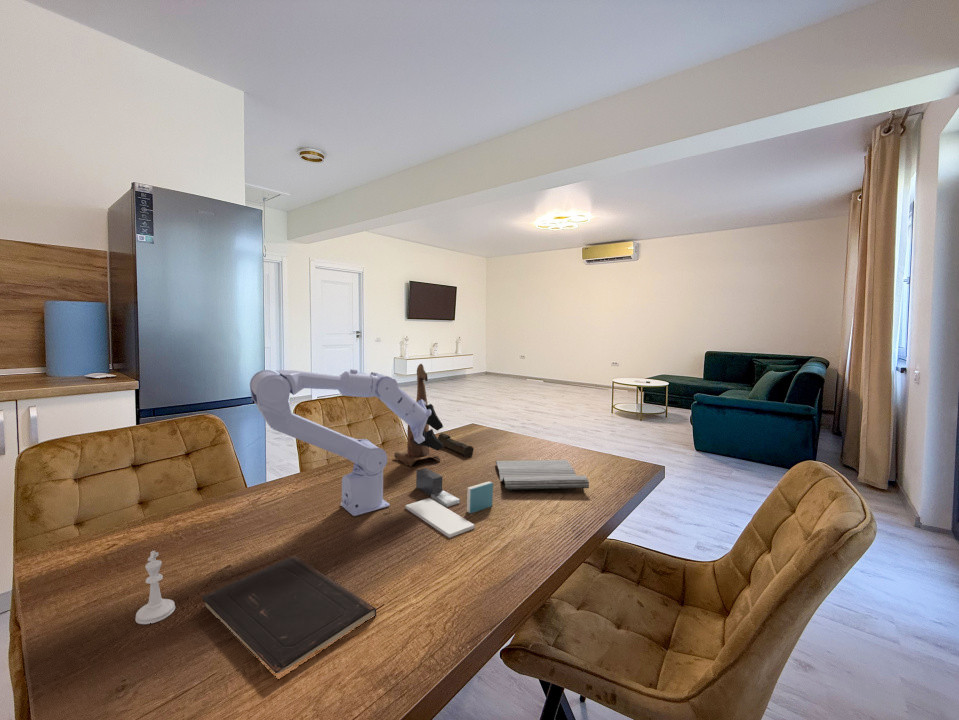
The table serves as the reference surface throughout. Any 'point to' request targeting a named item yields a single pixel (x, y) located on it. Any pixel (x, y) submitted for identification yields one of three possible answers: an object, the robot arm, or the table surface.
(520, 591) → the table surface
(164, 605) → the chess piece
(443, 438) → the hand tool
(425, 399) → the bird sculpture
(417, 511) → the board
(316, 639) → the hardcover book
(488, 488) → the tile
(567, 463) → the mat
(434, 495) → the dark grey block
